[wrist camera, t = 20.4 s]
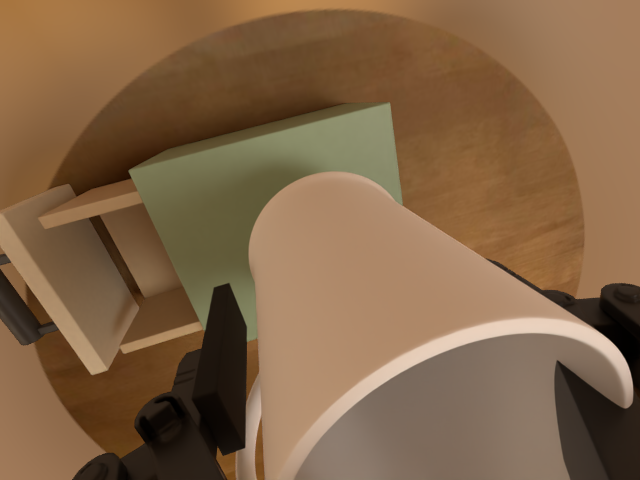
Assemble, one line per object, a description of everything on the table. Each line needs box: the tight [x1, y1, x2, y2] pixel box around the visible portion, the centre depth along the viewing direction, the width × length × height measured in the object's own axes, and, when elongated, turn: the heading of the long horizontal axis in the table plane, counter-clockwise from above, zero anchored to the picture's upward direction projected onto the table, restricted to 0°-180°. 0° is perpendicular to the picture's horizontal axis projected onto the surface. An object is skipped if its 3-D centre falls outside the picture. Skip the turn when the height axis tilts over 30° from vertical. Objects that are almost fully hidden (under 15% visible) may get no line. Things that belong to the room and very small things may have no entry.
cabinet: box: [129, 102, 403, 342], centre depth 26 cm, size 16×14×10 cm
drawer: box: [0, 179, 203, 375], centre depth 25 cm, size 20×13×8 cm, turn 103°
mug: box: [236, 171, 633, 480], centre depth 12 cm, size 12×8×12 cm
